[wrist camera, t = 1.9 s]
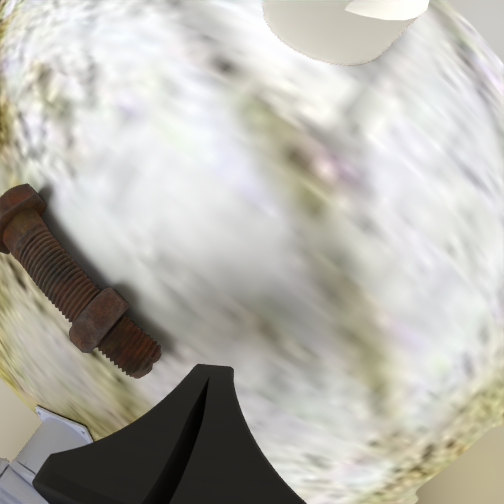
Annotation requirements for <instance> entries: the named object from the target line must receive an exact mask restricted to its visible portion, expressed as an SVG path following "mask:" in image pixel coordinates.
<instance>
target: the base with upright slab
mask: <svg viewBox="0 0 504 504" xmlns="http://www.w3.org/2000/svg"><path fill="white" fill-rule="evenodd" d="M428 3H429V0H262V8H263V15H264V19H265V21H266V23H267V25H268V26H269V28H270V30H271V31H272V32H273V33H274V34H275V35H276V36H277V37H278V38H279V40H280V41H281V42H283V43H284V44H286V45H287V46H289V47H290V48H292V49H293V50H295V51H296V52H298V53H301V54H303V55H305V56H307V57H309V58H312V59H314V60H318V61H322V62H326V63H329V64H336V65H348V66H350V65H357V64H365V63H367V62H370V61H372V60H374V59H377V58H378V57H379V56H380V55H381V54H382V53H383V52H384V51H385V50H386V49H387V48H388V47H389V46H390V45H391V44H392V43H393V42H394V41H395V40H396V39H397V38H398V37H399V36H400V35H401V34H402V33H403V32H404V31H405V30H406V29H407V28H408V27H409V26H410V25H411V24H412V23H413V22H414V21H415V20H416V19H417V18H418V17H419V16H420V15H421V14H422V13H423V12H424V11H425V10H426V9H427V6H428Z"/></svg>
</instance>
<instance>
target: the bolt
mask: <svg viewBox="0 0 504 504" xmlns="http://www.w3.org/2000/svg"><path fill="white" fill-rule="evenodd" d="M46 206H47V205H46V204H45V202H44V201H43V200H42V198H41V197H40V196H39V195H38V193H37V192H36V191H35V190H34V189H33V188H32V187H31V186H30V185H29V184H23V185H18V186H16V187H13V188H11V189H9V190H8V191H6V192H5V193H4V194H3V195H2V196H1V197H0V252H2V253H5V254H9V253H10V252H11V254H12V255H13V256H14V258H15V259H17V260H18V261H19V262H20V264H21V265H22V266H23V268H25V270H26V271H27V273H28V274H29V275H30V277H31V278H32V280H33V281H34V282H35V283H36V285H37V286H39V289H41V290H42V292H43V293H45V296H46V297H48V300H50V301H51V302H52V304H55V307H56V308H59V311H62V315H65V318H66V319H68V318H69V322H72V327H71V328H70V331H69V336H70V341H71V342H72V343H73V344H74V345H75V346H76V347H77V348H78V349H79V350H80V351H81V352H83V353H91V352H92V351H93V349H94V348H96V347H98V350H99V351H102V355H104V354H106V358H110V362H111V361H114V365H118V369H119V368H122V372H124V371H126V375H130V377H134V378H141V377H143V376H145V375H146V374H148V373H149V372H150V371H151V370H152V366H153V363H155V362H156V361H158V360H159V358H160V357H161V350H160V349H161V346H160V345H157V342H156V341H153V338H149V335H145V332H141V331H142V328H138V325H134V321H132V322H130V318H126V315H127V314H125V315H123V314H124V313H125V312H126V310H127V309H128V308H129V304H128V303H127V302H126V301H125V300H124V299H123V298H122V297H121V296H120V295H119V294H118V293H117V292H116V291H115V290H114V289H113V288H111V287H107V288H106V289H104V290H103V291H102V292H101V289H99V290H97V289H98V286H94V282H91V279H90V278H89V279H88V275H84V274H85V272H84V271H81V268H79V267H78V264H75V261H74V260H72V258H71V257H69V254H68V253H66V250H64V249H63V247H62V246H60V243H59V242H58V241H57V240H56V239H55V237H54V236H52V233H51V232H50V231H49V230H48V228H47V225H46V224H45V223H44V221H43V220H42V219H41V215H42V214H43V212H44V210H45V208H46Z"/></svg>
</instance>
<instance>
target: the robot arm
mask: <svg viewBox="0 0 504 504" xmlns="http://www.w3.org/2000/svg"><path fill="white" fill-rule="evenodd" d="M35 410H36V412H37V414H38V415H39V417H40V419H41V421H42V424H41V425H40V427H39V428H38V429H37V430H36V432H35V433H34V434H33V436H32V437H31V438H30V440H29V441H28V442H27V443H26V445H25V446H24V447H23V449H22V450H21V451H20V453H19V454H18V455H17V457H16V458H15V459H14V460H13V461H12V462H11V463H10V465H9V464H8V463H9V461H8V460H7V459H6V458H5V459H3V458H0V504H307V503H306V502H305V501H304V500H302V499H301V498H300V497H299V496H298V495H297V494H296V493H295V492H294V491H293V490H292V489H291V488H290V487H289V486H288V485H287V484H286V482H285V481H284V480H283V479H282V478H281V477H280V476H279V474H278V473H277V472H276V471H275V469H274V468H273V467H272V465H271V464H270V463H269V461H268V460H267V458H266V457H265V456H264V454H263V453H262V451H261V449H260V448H259V446H258V445H257V443H256V441H255V439H254V437H253V436H252V434H251V432H250V430H249V428H248V426H247V423H246V421H245V419H244V416H243V414H242V411H241V408H240V405H239V402H238V399H237V396H236V392H235V387H234V369H233V368H232V367H229V366H217V365H206V364H197V365H196V366H195V367H194V368H193V369H192V370H191V371H190V373H189V374H188V375H187V376H186V377H185V378H184V379H183V380H182V381H181V382H180V384H179V385H178V386H177V387H176V388H175V389H174V390H173V391H171V392H170V393H169V394H168V395H167V396H166V397H165V398H164V399H163V400H162V401H161V402H159V403H158V404H157V405H156V406H155V407H153V408H152V409H151V410H150V411H148V412H147V413H146V414H144V415H143V416H142V417H140V418H139V419H137V420H136V421H134V422H133V423H131V424H129V425H128V426H126V427H124V428H123V429H121V430H119V431H117V432H115V433H113V434H111V435H109V436H107V437H105V438H103V439H100V440H98V441H95V442H93V440H92V438H91V436H90V434H89V432H88V430H87V428H86V427H85V426H83V425H81V424H78V423H76V422H73V421H71V420H68V419H66V418H63V417H61V416H59V415H56V414H54V413H52V412H50V411H47V410H45V409H43V408H41V407H39V406H36V407H35Z"/></svg>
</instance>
